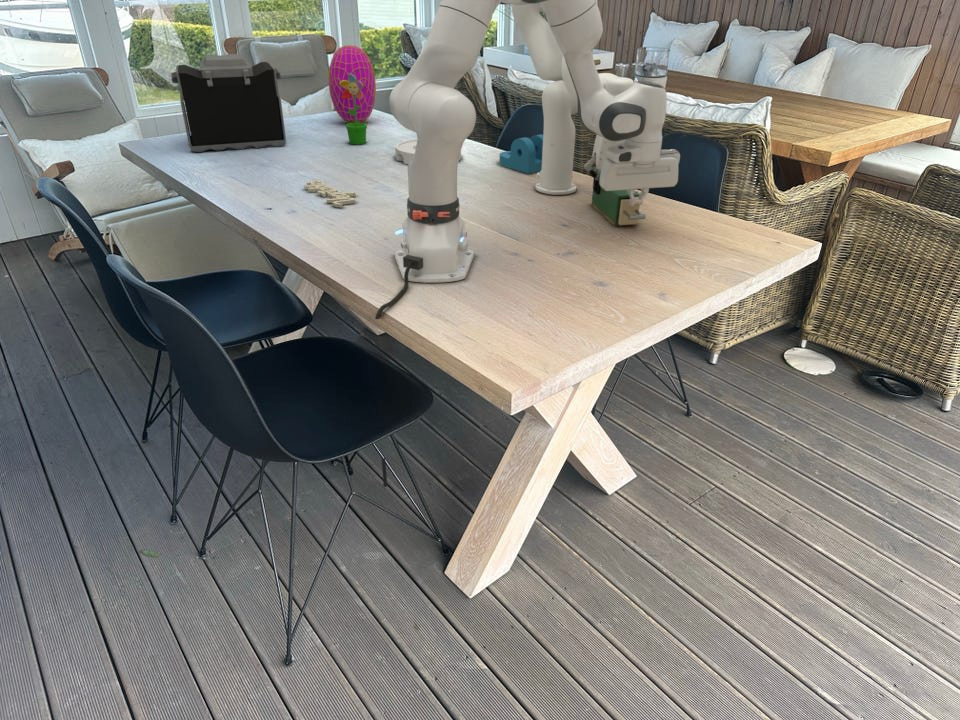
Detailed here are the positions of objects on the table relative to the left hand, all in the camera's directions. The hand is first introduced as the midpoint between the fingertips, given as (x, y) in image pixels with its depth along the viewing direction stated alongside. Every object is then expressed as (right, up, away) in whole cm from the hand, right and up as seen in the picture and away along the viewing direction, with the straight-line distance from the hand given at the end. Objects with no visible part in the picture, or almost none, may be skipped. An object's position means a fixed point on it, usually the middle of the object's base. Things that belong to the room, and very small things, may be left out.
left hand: (636, 204), depth 178 cm
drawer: (-2, -1, +10) cm, 10 cm away
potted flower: (-87, +43, +84) cm, 128 cm away
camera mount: (-26, +26, +58) cm, 69 cm away
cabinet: (-3, +1, +15) cm, 15 cm away
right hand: (-4, +7, +16) cm, 19 cm away
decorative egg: (-94, +61, +115) cm, 161 cm away
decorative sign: (-85, +9, +28) cm, 90 cm away
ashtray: (-59, +32, +66) cm, 94 cm away
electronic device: (-132, +42, +81) cm, 161 cm away
